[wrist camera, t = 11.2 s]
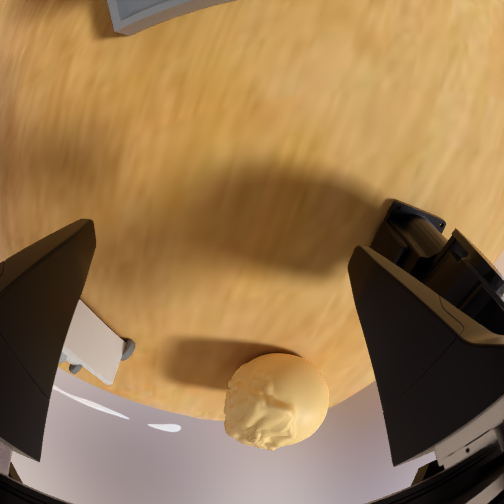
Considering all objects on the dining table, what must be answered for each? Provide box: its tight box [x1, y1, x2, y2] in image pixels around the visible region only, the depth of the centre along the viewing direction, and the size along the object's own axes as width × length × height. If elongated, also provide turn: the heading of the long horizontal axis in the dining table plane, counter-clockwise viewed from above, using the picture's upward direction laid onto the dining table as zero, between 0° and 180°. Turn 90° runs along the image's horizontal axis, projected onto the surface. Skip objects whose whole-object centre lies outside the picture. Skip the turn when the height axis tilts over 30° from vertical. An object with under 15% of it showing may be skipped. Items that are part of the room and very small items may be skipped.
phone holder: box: [58, 299, 135, 385], centre depth 28 cm, size 18×10×12 cm
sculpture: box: [224, 353, 329, 451], centre depth 29 cm, size 11×12×11 cm
